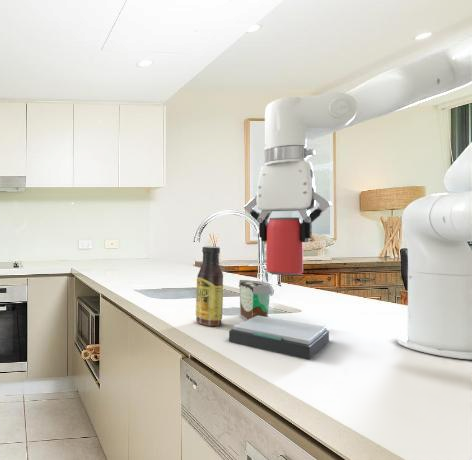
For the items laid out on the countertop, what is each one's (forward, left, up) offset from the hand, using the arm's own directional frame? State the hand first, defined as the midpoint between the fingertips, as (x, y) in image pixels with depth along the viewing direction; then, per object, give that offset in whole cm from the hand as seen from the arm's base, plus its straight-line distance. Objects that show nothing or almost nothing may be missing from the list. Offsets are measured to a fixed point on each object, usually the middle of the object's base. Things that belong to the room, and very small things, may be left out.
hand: (284, 240), depth 76 cm
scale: (0, -1, -22) cm, 22 cm away
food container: (-17, -10, -22) cm, 30 cm away
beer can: (0, 0, -7) cm, 7 cm away
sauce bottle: (-3, -17, -22) cm, 28 cm away
